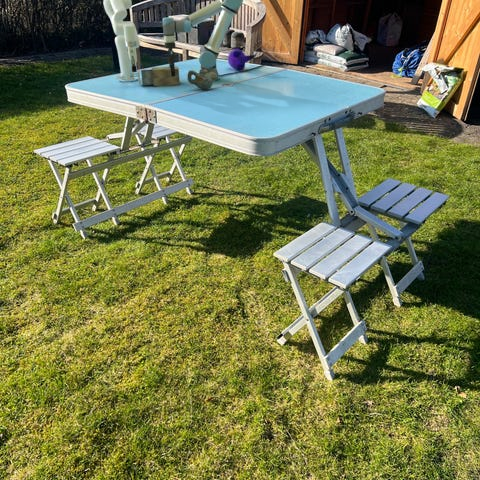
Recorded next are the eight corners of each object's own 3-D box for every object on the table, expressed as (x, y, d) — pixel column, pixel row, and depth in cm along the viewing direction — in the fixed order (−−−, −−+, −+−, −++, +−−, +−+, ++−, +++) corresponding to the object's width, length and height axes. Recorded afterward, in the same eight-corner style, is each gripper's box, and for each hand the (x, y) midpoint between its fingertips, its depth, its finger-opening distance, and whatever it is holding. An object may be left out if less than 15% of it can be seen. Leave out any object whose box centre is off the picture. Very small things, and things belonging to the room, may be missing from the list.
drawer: (131, 86, 319) (129, 72, 314) (131, 83, 327) (129, 70, 322) (163, 84, 323) (162, 70, 318) (163, 81, 331) (161, 68, 326)
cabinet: (153, 86, 321) (152, 70, 316) (153, 83, 331) (151, 67, 325) (179, 84, 325) (178, 68, 319) (178, 82, 334) (177, 66, 328)
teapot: (216, 86, 317) (215, 63, 310) (220, 89, 308) (219, 66, 300) (186, 88, 312) (184, 66, 304) (190, 92, 302) (188, 68, 295)
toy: (240, 72, 359) (228, 71, 382) (259, 65, 362) (246, 64, 386) (234, 52, 351) (222, 52, 375) (253, 45, 354) (241, 45, 378)
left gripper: (136, 45, 304) (140, 73, 314) (136, 42, 317) (139, 69, 326) (125, 46, 303) (129, 74, 313) (125, 42, 315) (129, 70, 325)
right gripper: (176, 43, 305) (179, 77, 316) (173, 39, 325) (176, 71, 336) (165, 44, 304) (168, 78, 315) (163, 40, 323) (166, 72, 335)
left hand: (134, 71), depth 320 cm, fingers closed
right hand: (172, 74), depth 325 cm, fingers closed on cabinet, 11 cm apart
